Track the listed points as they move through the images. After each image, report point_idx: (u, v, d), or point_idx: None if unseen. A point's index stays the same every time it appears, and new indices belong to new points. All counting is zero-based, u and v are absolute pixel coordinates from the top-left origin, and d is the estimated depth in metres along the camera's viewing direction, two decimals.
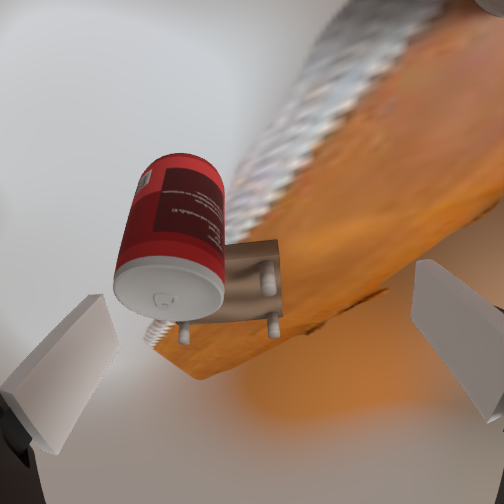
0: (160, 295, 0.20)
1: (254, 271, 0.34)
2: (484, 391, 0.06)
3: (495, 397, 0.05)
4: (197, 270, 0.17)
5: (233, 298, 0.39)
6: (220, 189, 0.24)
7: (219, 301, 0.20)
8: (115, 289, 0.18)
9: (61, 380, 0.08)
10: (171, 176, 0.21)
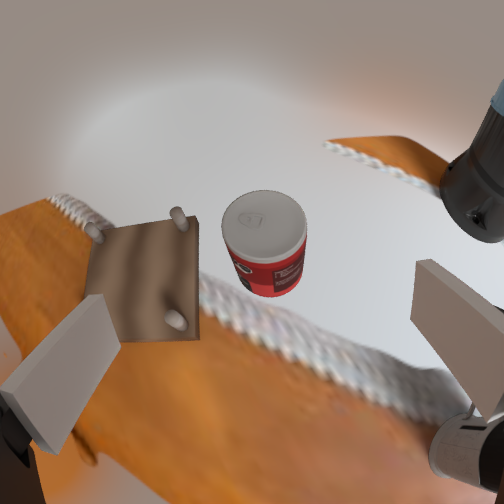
0: (262, 219, 0.28)
1: None
2: (484, 391, 0.06)
3: (495, 397, 0.05)
4: (297, 247, 0.26)
5: (129, 290, 0.36)
6: (281, 291, 0.34)
7: (255, 256, 0.26)
8: (277, 193, 0.29)
9: (61, 380, 0.08)
10: None
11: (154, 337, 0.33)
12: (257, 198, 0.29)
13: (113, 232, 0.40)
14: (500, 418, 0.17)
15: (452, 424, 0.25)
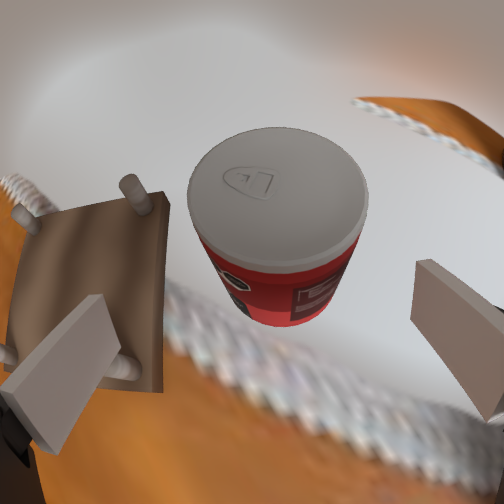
0: (274, 177, 0.13)
1: None
2: (484, 391, 0.06)
3: (495, 397, 0.05)
4: (354, 236, 0.11)
5: (61, 306, 0.21)
6: (302, 318, 0.19)
7: (259, 257, 0.11)
8: (303, 131, 0.14)
9: (61, 380, 0.08)
10: None
11: None
12: (263, 141, 0.14)
13: (51, 219, 0.25)
14: None
15: None
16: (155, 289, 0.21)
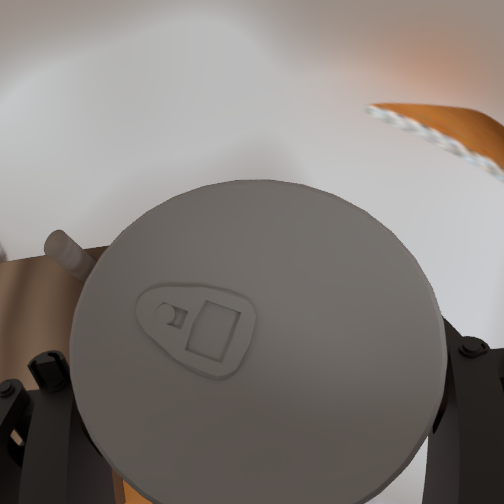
0: (241, 319, 0.06)
1: None
2: None
3: None
4: (404, 466, 0.04)
5: None
6: None
7: None
8: (311, 191, 0.07)
9: None
10: None
11: None
12: (223, 215, 0.07)
13: None
14: None
15: None
16: None
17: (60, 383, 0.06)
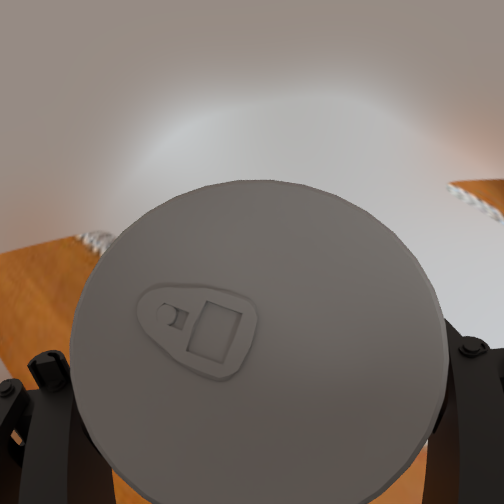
0: (243, 320, 0.06)
1: None
2: None
3: None
4: (406, 466, 0.04)
5: None
6: None
7: None
8: (312, 192, 0.07)
9: None
10: None
11: None
12: (224, 215, 0.07)
13: None
14: None
15: None
16: None
17: (60, 383, 0.06)
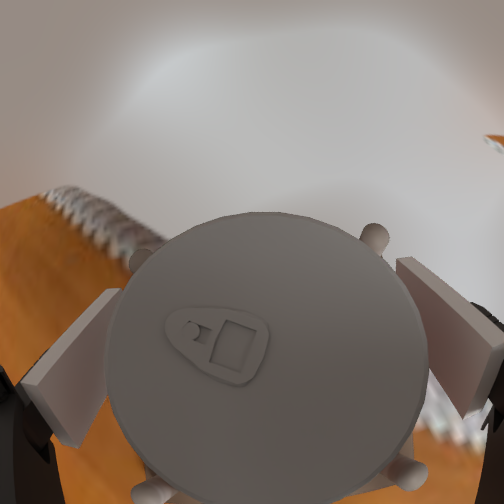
0: (257, 336, 0.07)
1: None
2: (459, 387, 0.07)
3: (470, 393, 0.06)
4: (391, 459, 0.05)
5: None
6: None
7: (224, 501, 0.05)
8: (316, 224, 0.08)
9: (83, 372, 0.08)
10: None
11: None
12: (239, 244, 0.08)
13: None
14: None
15: None
16: None
17: (3, 395, 0.05)
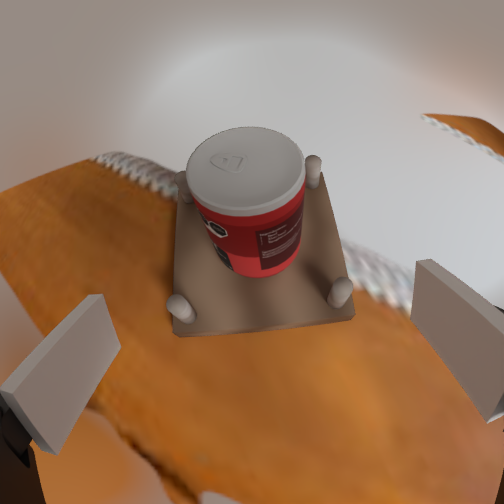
0: (243, 159, 0.20)
1: (320, 287, 0.26)
2: (484, 391, 0.06)
3: (495, 397, 0.05)
4: (292, 193, 0.18)
5: None
6: (271, 268, 0.25)
7: (229, 205, 0.18)
8: (265, 129, 0.20)
9: (61, 380, 0.08)
10: None
11: (299, 320, 0.25)
12: (237, 136, 0.21)
13: None
14: None
15: None
16: None
17: None
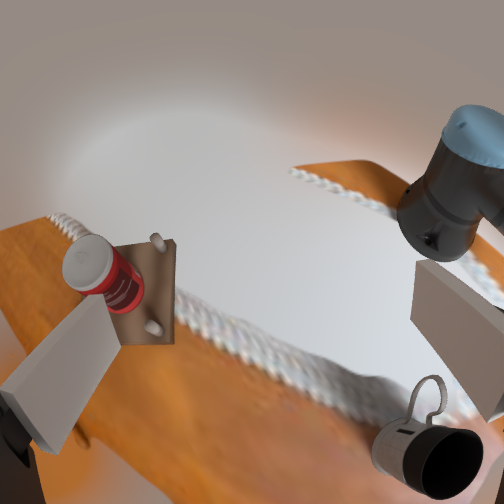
0: (86, 257, 0.34)
1: None
2: (484, 391, 0.06)
3: (495, 397, 0.05)
4: (99, 280, 0.32)
5: None
6: (119, 310, 0.39)
7: (74, 285, 0.32)
8: (99, 236, 0.35)
9: (61, 380, 0.08)
10: (135, 286, 0.40)
11: (137, 341, 0.39)
12: (87, 240, 0.35)
13: None
14: (427, 426, 0.24)
15: (392, 427, 0.31)
16: (170, 292, 0.43)
17: None
